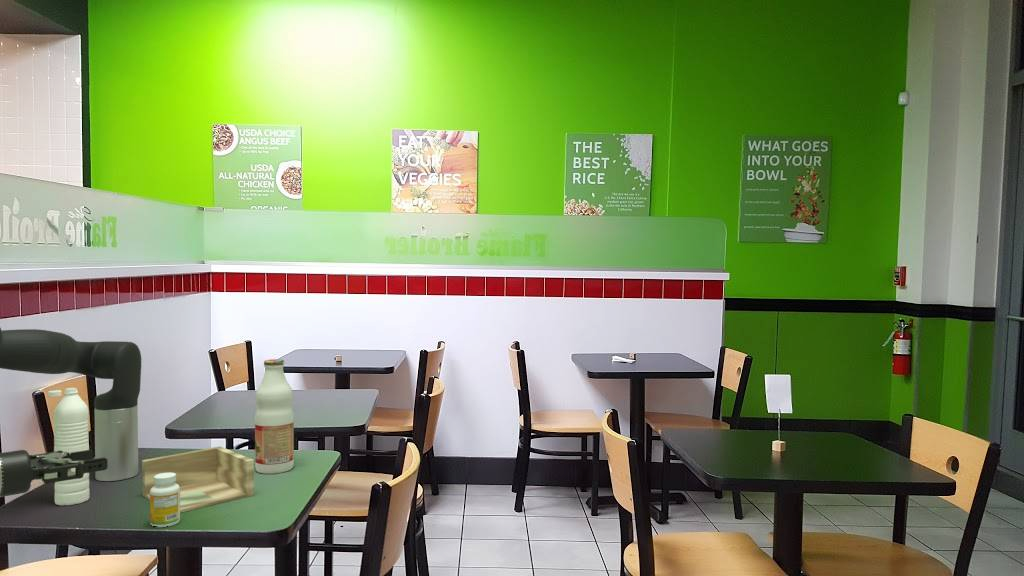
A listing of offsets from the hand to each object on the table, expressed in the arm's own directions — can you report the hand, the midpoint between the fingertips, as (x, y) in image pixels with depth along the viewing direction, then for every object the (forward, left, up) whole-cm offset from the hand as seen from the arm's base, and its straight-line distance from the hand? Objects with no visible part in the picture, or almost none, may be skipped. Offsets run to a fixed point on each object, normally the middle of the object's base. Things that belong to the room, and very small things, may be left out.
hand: (99, 459), depth 132 cm
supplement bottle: (+1, +11, -15) cm, 19 cm away
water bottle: (-27, +1, -15) cm, 31 cm away
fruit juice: (-19, +45, -15) cm, 52 cm away
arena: (-12, +23, -15) cm, 30 cm away
